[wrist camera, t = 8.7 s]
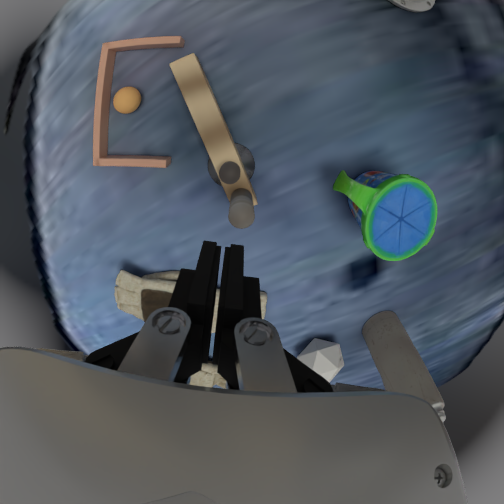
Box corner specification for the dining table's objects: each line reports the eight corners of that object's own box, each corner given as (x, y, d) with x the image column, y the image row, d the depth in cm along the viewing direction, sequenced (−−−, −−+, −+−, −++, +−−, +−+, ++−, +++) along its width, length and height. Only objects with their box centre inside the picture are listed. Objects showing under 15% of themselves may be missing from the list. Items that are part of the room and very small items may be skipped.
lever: (175, 67, 27) (153, 54, 19) (197, 57, 27) (182, 40, 19) (234, 204, 36) (232, 233, 28) (256, 196, 36) (260, 223, 28)
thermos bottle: (376, 343, 52) (421, 456, 28) (354, 331, 50) (401, 459, 25) (403, 319, 50) (462, 431, 25) (383, 304, 47) (448, 431, 23)
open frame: (110, 46, 25) (102, 43, 23) (184, 40, 26) (180, 35, 24) (101, 162, 33) (93, 165, 31) (170, 164, 34) (165, 167, 32)
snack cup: (420, 194, 37) (459, 220, 28) (383, 246, 41) (413, 281, 32) (349, 133, 33) (384, 144, 24) (308, 196, 37) (329, 226, 28)
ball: (110, 87, 26) (122, 85, 25) (133, 87, 29) (147, 86, 27) (107, 114, 28) (120, 114, 26) (131, 112, 31) (144, 113, 29)
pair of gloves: (121, 251, 40) (109, 269, 36) (275, 291, 45) (279, 312, 40) (120, 362, 54) (114, 380, 49) (228, 388, 58) (228, 407, 54)
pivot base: (210, 140, 33) (210, 140, 33) (257, 145, 33) (257, 145, 33) (206, 185, 36) (205, 185, 35) (251, 189, 36) (251, 190, 36)
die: (326, 359, 55) (357, 372, 46) (295, 380, 51) (324, 398, 43) (317, 327, 54) (350, 337, 45) (283, 348, 50) (313, 363, 42)
